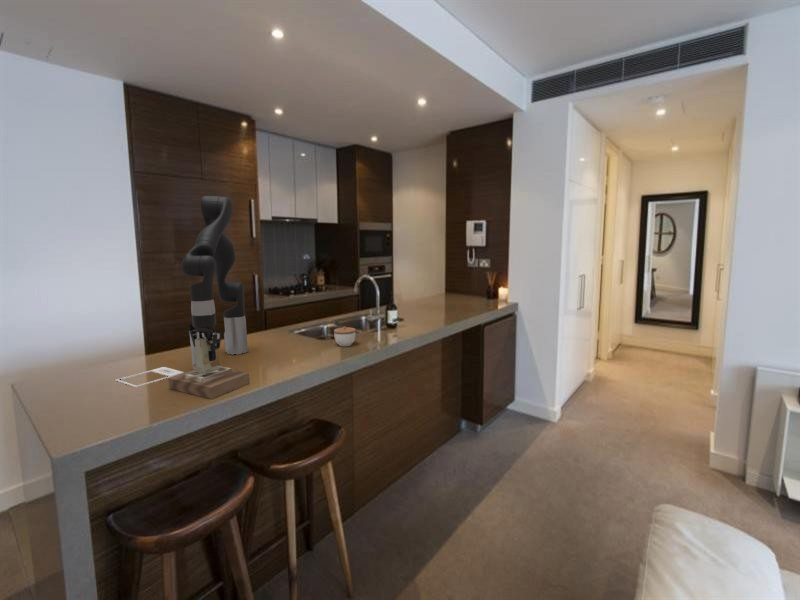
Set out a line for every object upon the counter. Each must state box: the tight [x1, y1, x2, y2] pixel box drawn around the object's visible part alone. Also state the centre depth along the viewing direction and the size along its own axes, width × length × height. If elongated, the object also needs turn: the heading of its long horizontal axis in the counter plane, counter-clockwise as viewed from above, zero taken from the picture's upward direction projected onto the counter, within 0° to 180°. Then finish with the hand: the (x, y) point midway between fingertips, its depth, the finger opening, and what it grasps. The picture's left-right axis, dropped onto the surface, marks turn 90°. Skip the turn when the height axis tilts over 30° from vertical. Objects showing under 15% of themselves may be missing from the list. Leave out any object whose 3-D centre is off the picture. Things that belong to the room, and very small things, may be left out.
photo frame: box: [114, 366, 185, 389], centre depth 156 cm, size 15×1×18 cm
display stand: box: [167, 365, 250, 400], centre depth 145 cm, size 22×16×6 cm
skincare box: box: [195, 338, 220, 374], centre depth 144 cm, size 6×4×12 cm
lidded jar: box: [333, 325, 357, 347], centre depth 199 cm, size 11×11×9 cm
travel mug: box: [188, 323, 197, 370], centre depth 162 cm, size 6×7×20 cm
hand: (207, 359), depth 144 cm, fingers closed on skincare box, 4 cm apart
